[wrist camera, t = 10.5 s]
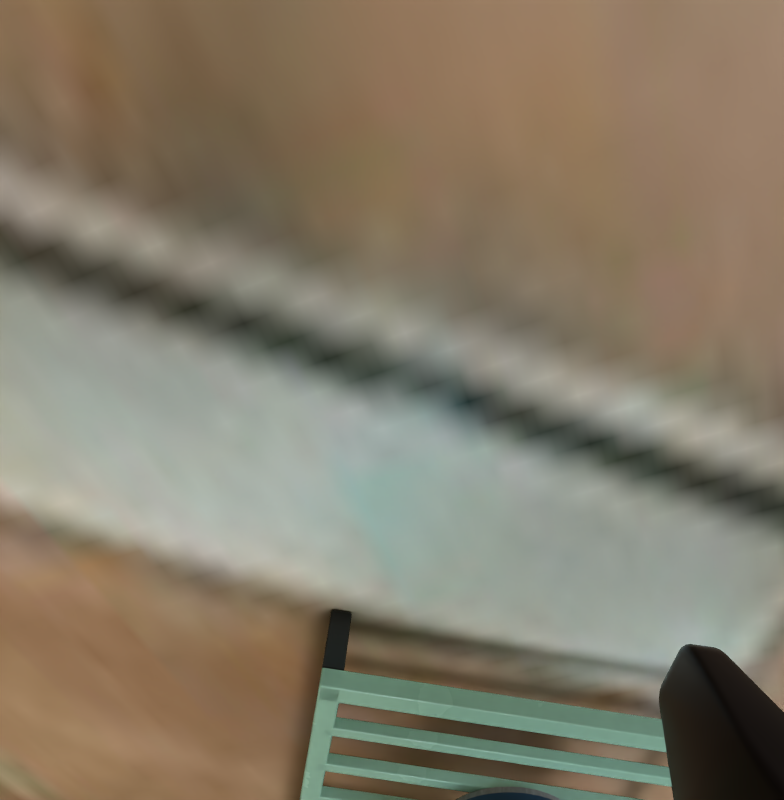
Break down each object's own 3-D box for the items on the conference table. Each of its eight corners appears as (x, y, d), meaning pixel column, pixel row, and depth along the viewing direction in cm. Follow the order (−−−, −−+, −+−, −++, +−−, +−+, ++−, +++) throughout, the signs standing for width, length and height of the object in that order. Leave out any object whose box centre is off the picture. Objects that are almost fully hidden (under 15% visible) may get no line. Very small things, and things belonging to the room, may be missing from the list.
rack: (726, 670, 28) (762, 753, 25) (612, 851, 35) (630, 933, 32) (331, 608, 27) (319, 685, 24) (298, 805, 34) (285, 884, 31)
